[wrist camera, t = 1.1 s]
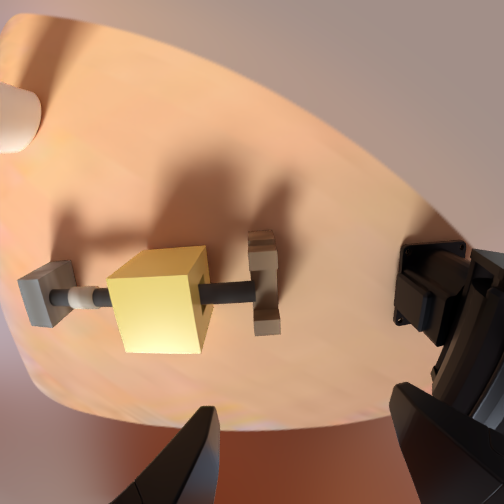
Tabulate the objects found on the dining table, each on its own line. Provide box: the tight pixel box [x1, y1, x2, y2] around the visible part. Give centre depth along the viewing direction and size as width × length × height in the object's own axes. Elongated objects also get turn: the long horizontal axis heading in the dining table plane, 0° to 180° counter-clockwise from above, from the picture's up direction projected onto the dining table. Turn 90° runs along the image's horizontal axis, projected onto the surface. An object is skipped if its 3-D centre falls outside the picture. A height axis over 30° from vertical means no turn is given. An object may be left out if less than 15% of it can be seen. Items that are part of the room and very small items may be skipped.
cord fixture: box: [17, 230, 281, 336], centre depth 17 cm, size 18×6×4 cm, turn 94°
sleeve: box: [106, 245, 214, 354], centre depth 16 cm, size 4×4×6 cm
